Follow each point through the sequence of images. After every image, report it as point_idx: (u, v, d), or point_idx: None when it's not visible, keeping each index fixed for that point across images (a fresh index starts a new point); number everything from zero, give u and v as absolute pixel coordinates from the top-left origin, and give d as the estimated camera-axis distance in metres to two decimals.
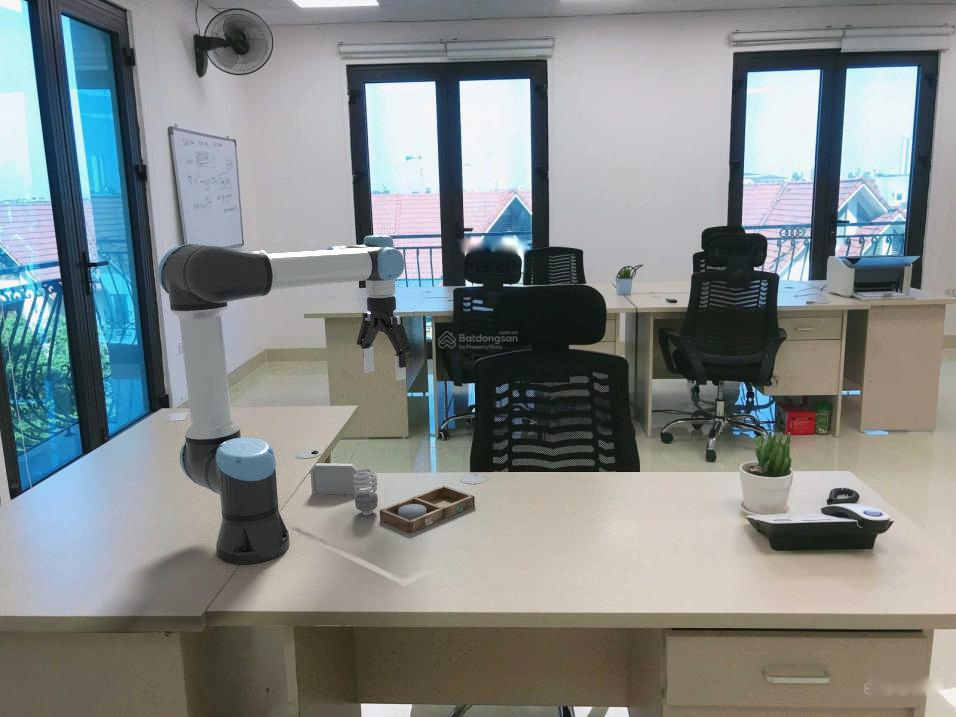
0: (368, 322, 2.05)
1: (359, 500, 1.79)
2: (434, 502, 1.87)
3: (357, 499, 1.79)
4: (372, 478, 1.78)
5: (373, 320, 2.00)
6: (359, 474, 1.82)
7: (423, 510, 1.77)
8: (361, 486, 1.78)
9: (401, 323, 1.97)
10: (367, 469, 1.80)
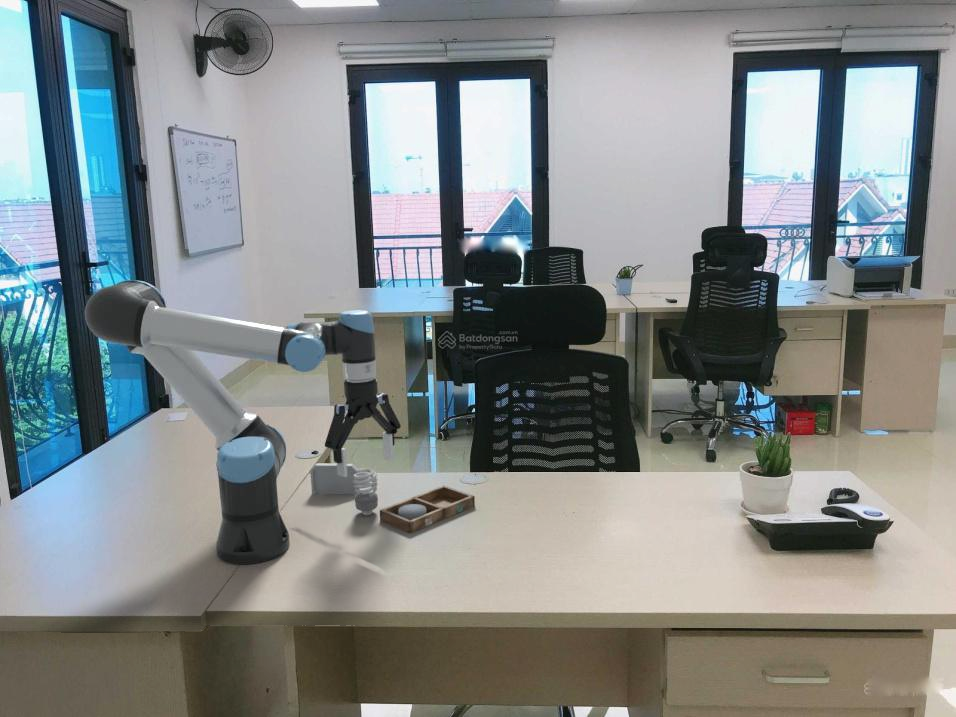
0: (382, 405, 1.81)
1: (359, 500, 1.79)
2: (434, 502, 1.87)
3: (357, 499, 1.79)
4: (372, 478, 1.78)
5: None
6: (359, 474, 1.82)
7: (423, 510, 1.77)
8: (361, 486, 1.78)
9: (339, 414, 1.71)
10: (367, 469, 1.80)
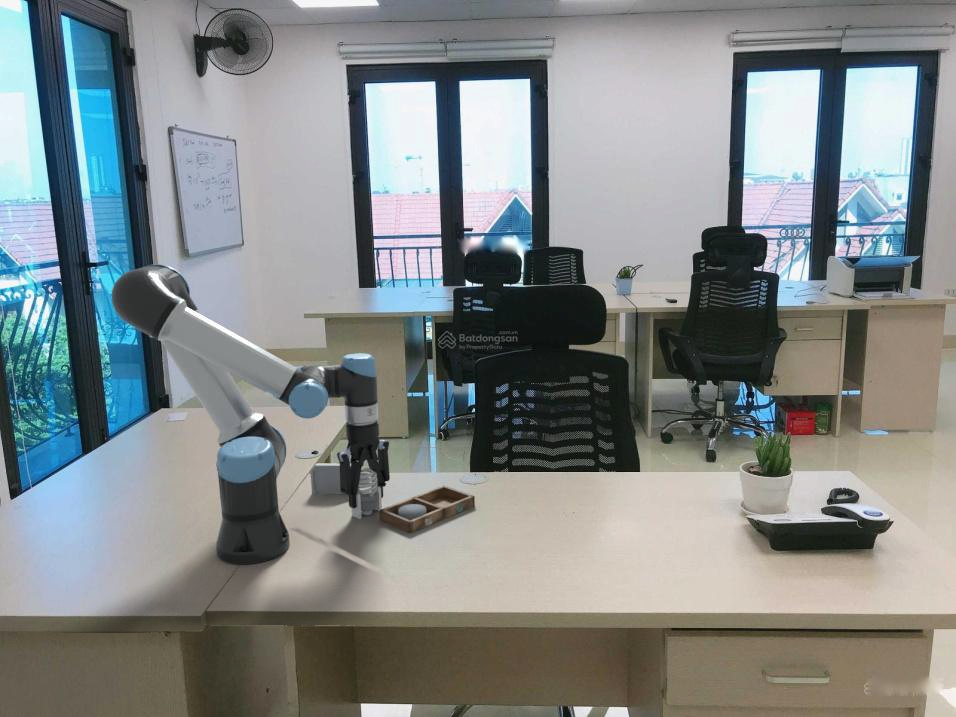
0: (380, 451, 1.83)
1: None
2: (434, 502, 1.87)
3: None
4: (372, 478, 1.78)
5: None
6: None
7: (423, 510, 1.77)
8: (361, 486, 1.78)
9: (344, 462, 1.74)
10: (367, 469, 1.80)
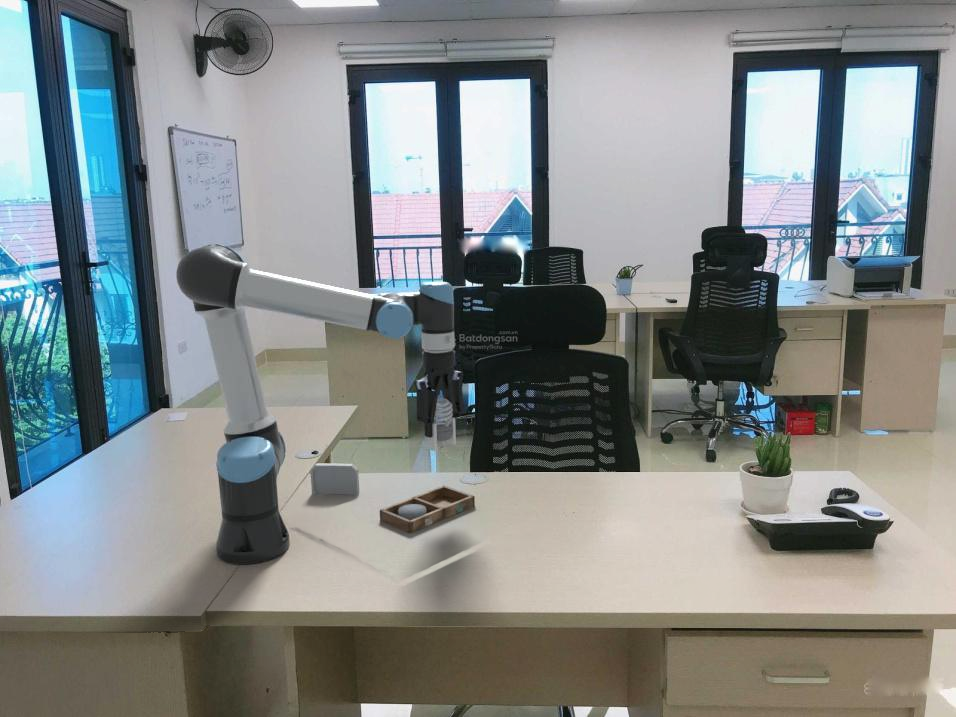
0: (454, 382, 1.82)
1: None
2: (434, 502, 1.87)
3: None
4: (448, 407, 1.78)
5: None
6: None
7: (423, 510, 1.77)
8: (437, 415, 1.77)
9: (421, 390, 1.74)
10: (443, 399, 1.79)
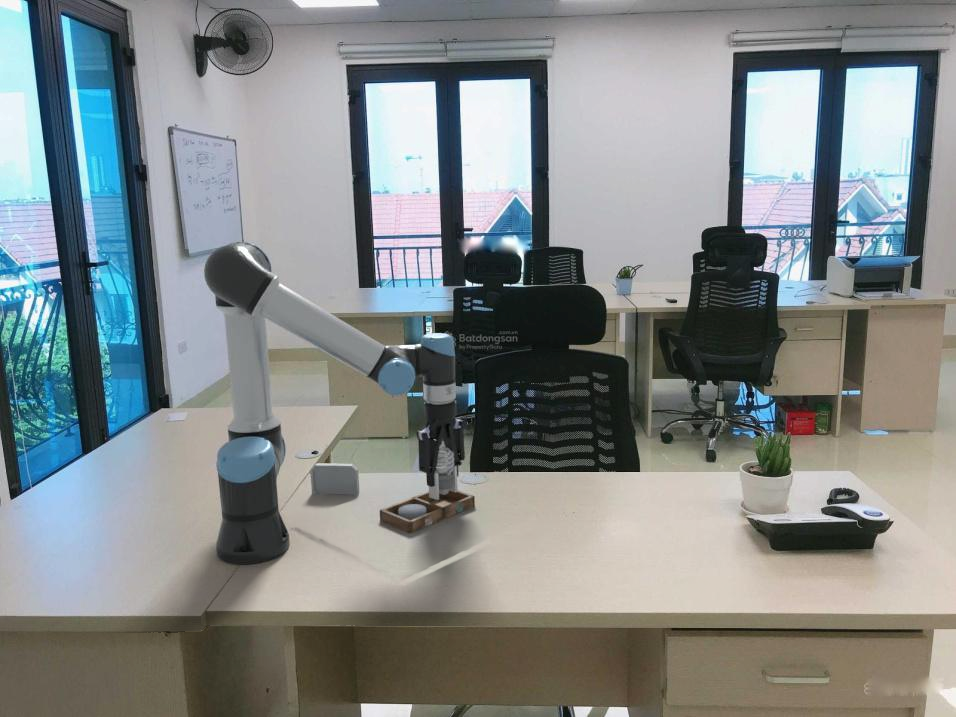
0: (456, 431, 1.85)
1: None
2: (434, 502, 1.87)
3: None
4: (450, 456, 1.80)
5: None
6: None
7: (423, 510, 1.77)
8: (439, 464, 1.80)
9: (423, 441, 1.76)
10: (444, 448, 1.82)
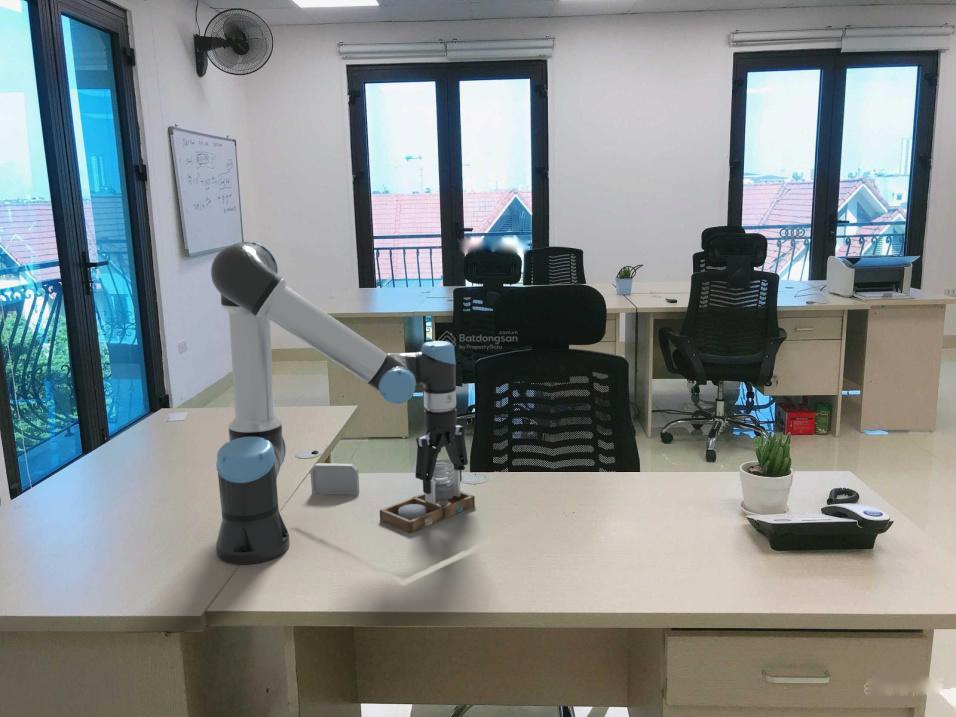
0: (457, 437, 1.85)
1: (437, 490, 1.81)
2: None
3: None
4: (450, 468, 1.81)
5: None
6: (436, 464, 1.84)
7: (423, 510, 1.77)
8: (439, 476, 1.80)
9: (423, 447, 1.76)
10: (444, 459, 1.82)
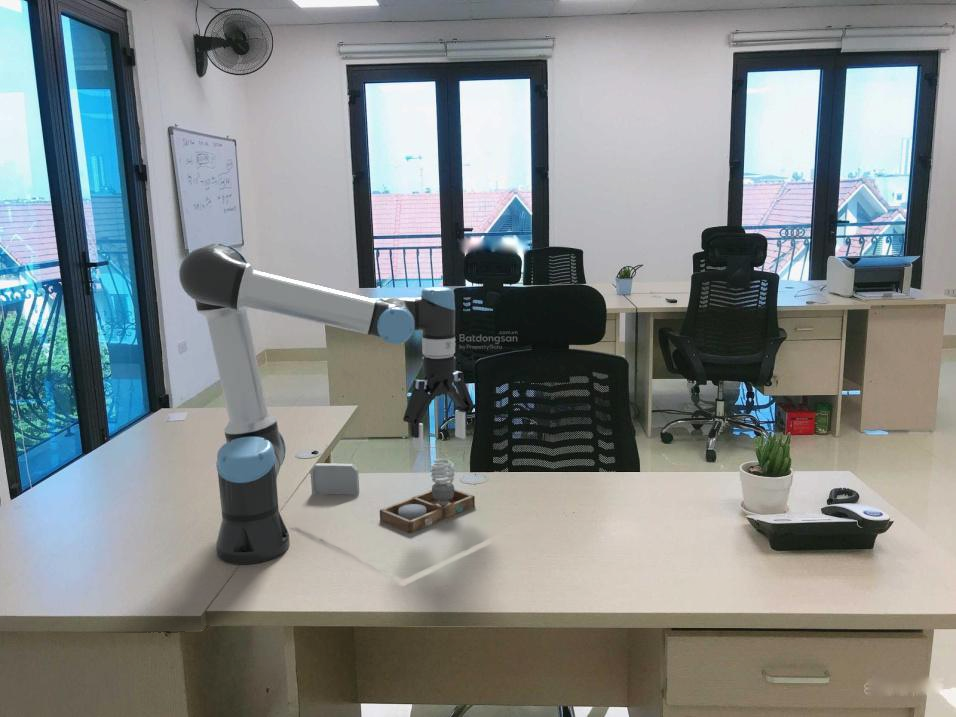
0: (457, 383, 1.83)
1: (437, 490, 1.81)
2: (434, 502, 1.87)
3: (435, 489, 1.82)
4: (450, 468, 1.81)
5: None
6: (436, 464, 1.84)
7: (423, 510, 1.77)
8: (439, 476, 1.80)
9: (419, 389, 1.73)
10: (445, 459, 1.82)
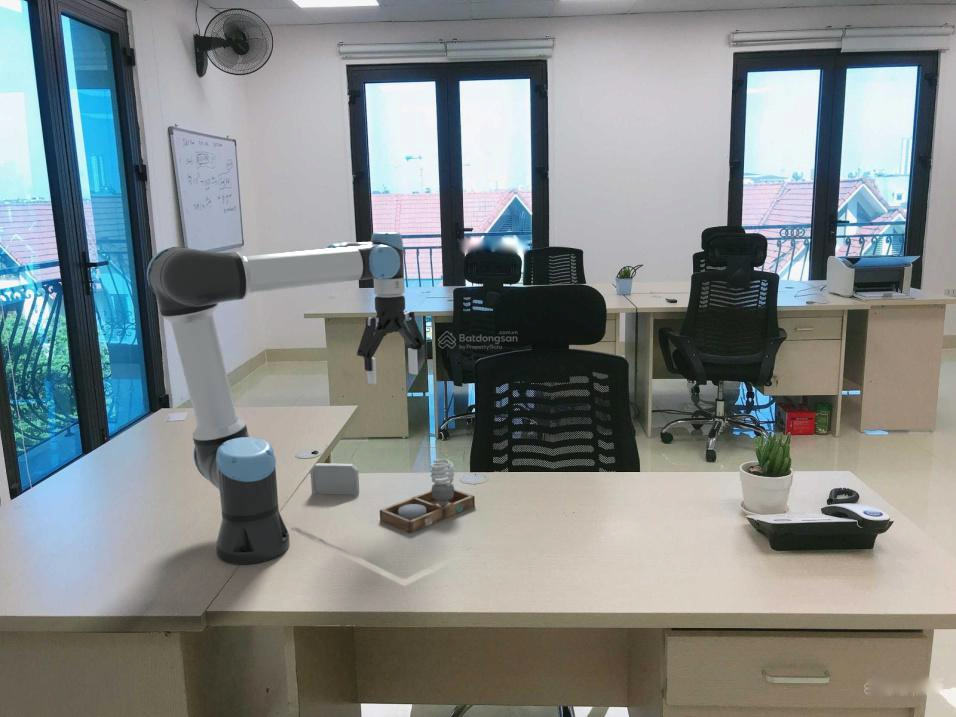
0: (409, 322, 1.97)
1: (437, 490, 1.81)
2: (434, 502, 1.87)
3: (434, 489, 1.82)
4: (450, 468, 1.81)
5: None
6: (436, 464, 1.84)
7: (423, 510, 1.77)
8: (439, 476, 1.80)
9: (370, 325, 1.87)
10: (444, 459, 1.82)
